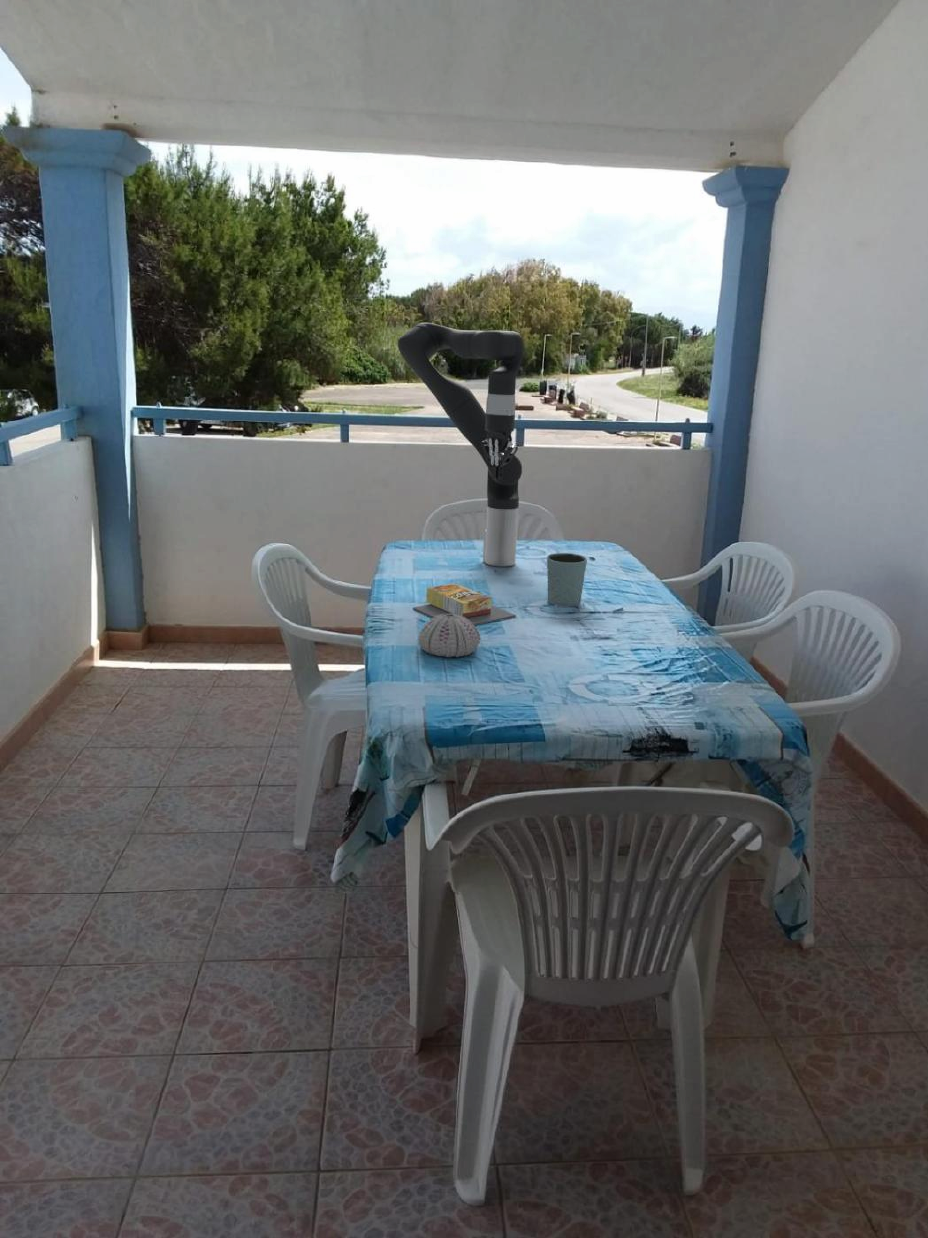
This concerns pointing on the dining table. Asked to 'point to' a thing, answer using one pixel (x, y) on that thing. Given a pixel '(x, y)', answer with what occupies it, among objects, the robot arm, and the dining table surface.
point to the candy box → (458, 600)
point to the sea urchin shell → (449, 636)
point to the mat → (475, 620)
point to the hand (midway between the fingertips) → (497, 479)
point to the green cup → (565, 578)
